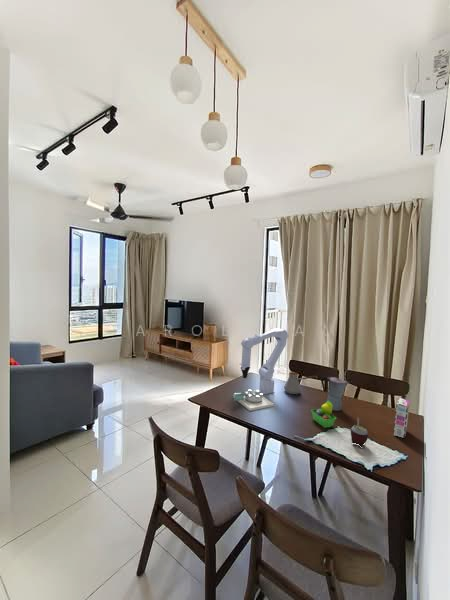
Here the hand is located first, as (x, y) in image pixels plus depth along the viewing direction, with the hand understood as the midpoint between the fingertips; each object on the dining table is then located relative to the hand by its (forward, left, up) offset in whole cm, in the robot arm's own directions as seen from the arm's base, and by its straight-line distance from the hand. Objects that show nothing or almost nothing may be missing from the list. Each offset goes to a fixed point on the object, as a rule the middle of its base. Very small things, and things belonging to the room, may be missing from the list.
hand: (244, 377), depth 172 cm
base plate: (+1, +13, -10) cm, 17 cm away
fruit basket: (-20, +48, -11) cm, 53 cm away
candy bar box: (-50, +70, -11) cm, 87 cm away
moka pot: (-40, +37, -11) cm, 56 cm away
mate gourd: (-19, +69, -11) cm, 72 cm away
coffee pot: (-35, +14, -11) cm, 39 cm away
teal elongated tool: (+5, +13, -9) cm, 16 cm away
